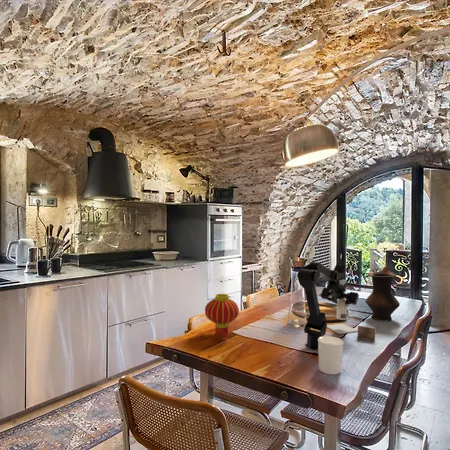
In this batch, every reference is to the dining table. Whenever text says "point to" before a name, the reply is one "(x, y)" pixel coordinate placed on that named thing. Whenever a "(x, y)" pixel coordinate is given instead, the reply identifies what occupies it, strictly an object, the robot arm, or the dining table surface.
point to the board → (341, 328)
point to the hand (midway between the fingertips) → (343, 304)
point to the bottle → (341, 309)
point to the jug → (382, 295)
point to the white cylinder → (330, 354)
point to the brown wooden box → (366, 333)
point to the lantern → (221, 312)
